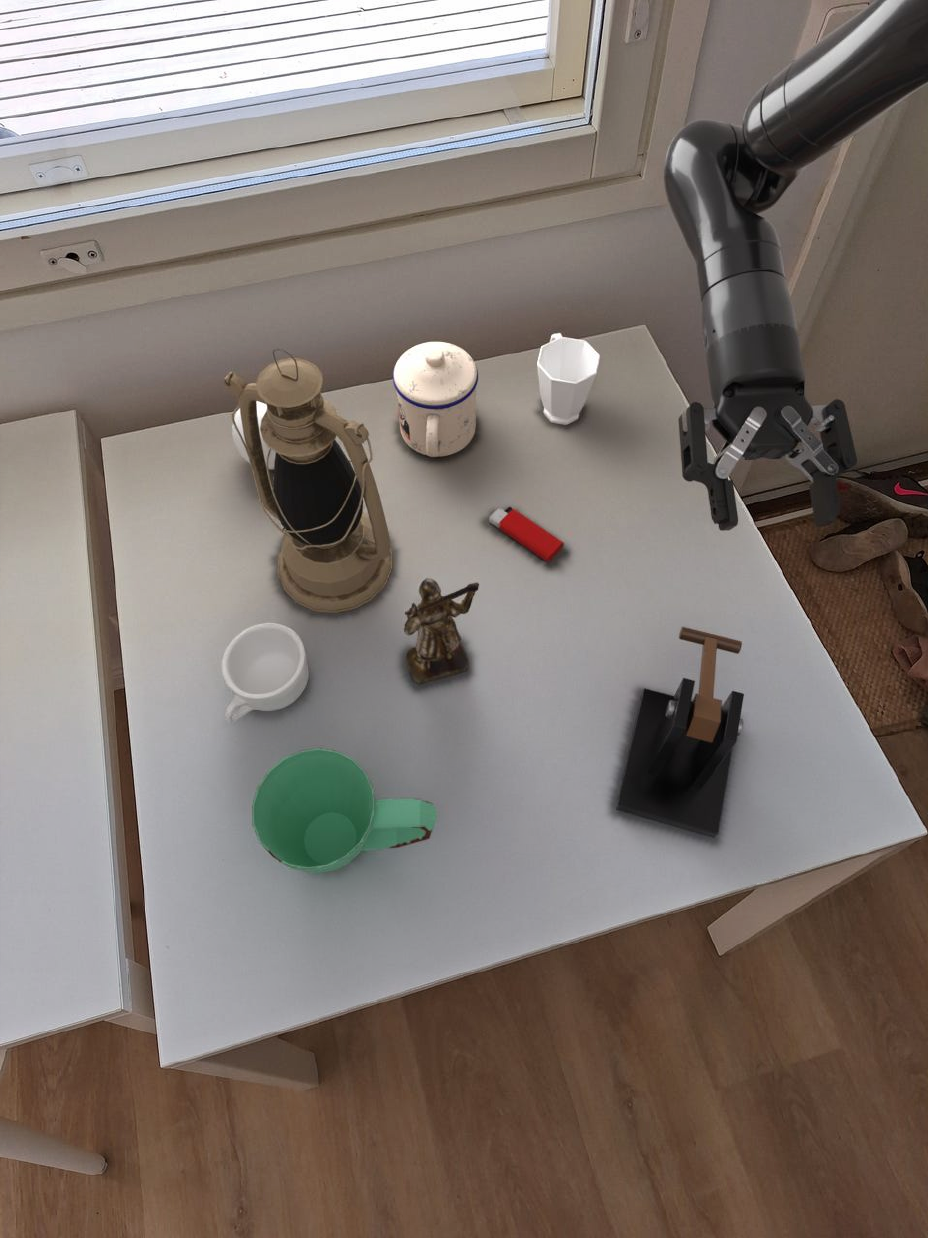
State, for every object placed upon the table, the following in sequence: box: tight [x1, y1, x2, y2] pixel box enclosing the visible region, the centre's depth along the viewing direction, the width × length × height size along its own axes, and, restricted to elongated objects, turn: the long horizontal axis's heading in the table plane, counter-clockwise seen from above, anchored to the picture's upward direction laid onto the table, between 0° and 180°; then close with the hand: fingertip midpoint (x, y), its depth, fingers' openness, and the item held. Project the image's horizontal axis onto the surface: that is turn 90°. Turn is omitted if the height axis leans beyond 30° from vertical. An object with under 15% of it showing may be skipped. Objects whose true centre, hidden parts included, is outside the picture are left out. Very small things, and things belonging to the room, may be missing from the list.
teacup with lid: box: [392, 341, 479, 458], centre depth 96 cm, size 12×9×12 cm
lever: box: [678, 626, 743, 743], centre depth 76 cm, size 13×6×2 cm, turn 163°
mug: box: [251, 747, 438, 874], centre depth 74 cm, size 15×10×10 cm
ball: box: [231, 401, 276, 471], centre depth 96 cm, size 8×8×8 cm
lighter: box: [488, 506, 565, 563], centre depth 94 cm, size 3×1×8 cm
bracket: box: [615, 677, 745, 839], centre depth 76 cm, size 12×9×13 cm
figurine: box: [403, 577, 480, 685], centre depth 81 cm, size 7×4×15 cm, turn 107°
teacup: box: [221, 622, 310, 724], centre depth 83 cm, size 10×8×5 cm
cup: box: [536, 332, 601, 426], centre depth 100 cm, size 7×10×8 cm
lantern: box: [222, 348, 393, 614], centre depth 80 cm, size 14×12×30 cm
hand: (778, 526), depth 72 cm, fingers open, 8 cm apart
